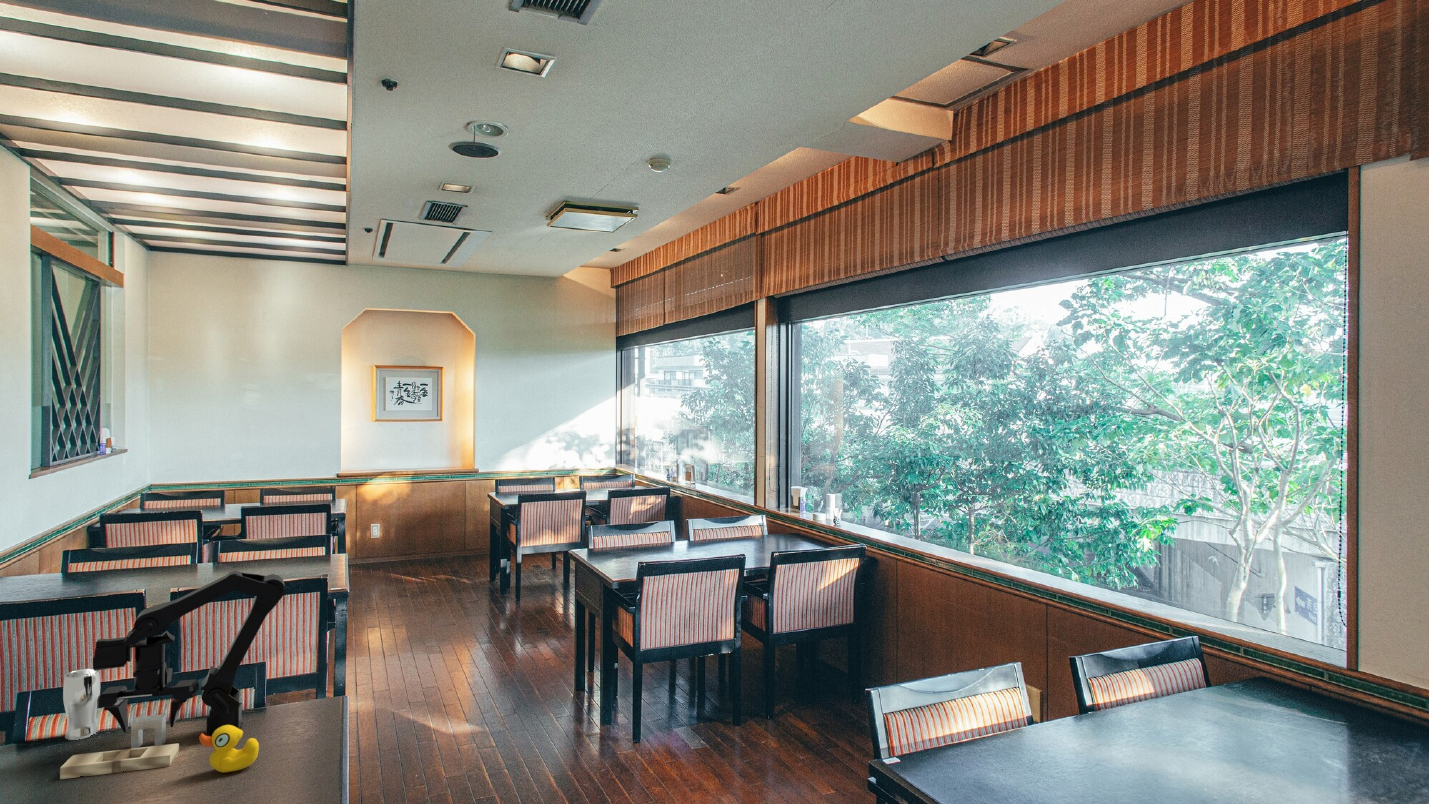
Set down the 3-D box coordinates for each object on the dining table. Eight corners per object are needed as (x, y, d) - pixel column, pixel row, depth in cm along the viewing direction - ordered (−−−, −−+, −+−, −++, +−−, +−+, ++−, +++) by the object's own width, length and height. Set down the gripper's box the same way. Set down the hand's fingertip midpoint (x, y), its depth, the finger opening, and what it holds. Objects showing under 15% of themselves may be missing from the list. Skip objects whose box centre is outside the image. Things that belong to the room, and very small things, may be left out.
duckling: (195, 780, 166) (196, 734, 166) (202, 769, 171) (202, 724, 171) (256, 772, 170) (256, 727, 170) (260, 761, 175) (261, 717, 175)
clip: (165, 741, 184) (165, 714, 184) (161, 746, 181) (161, 718, 181) (135, 744, 182) (135, 717, 182) (131, 749, 179) (131, 721, 179)
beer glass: (107, 729, 189) (108, 668, 189) (81, 742, 183) (82, 679, 182) (81, 727, 190) (82, 667, 190) (54, 740, 183) (55, 677, 183)
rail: (178, 754, 178) (178, 743, 178) (170, 766, 172) (170, 755, 172) (72, 766, 171) (72, 755, 171) (60, 779, 165) (60, 767, 165)
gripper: (205, 648, 192) (205, 710, 192) (115, 655, 186) (115, 720, 186) (192, 663, 182) (191, 729, 182) (96, 671, 175) (95, 740, 176)
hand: (149, 729), depth 182 cm, fingers open, 9 cm apart
